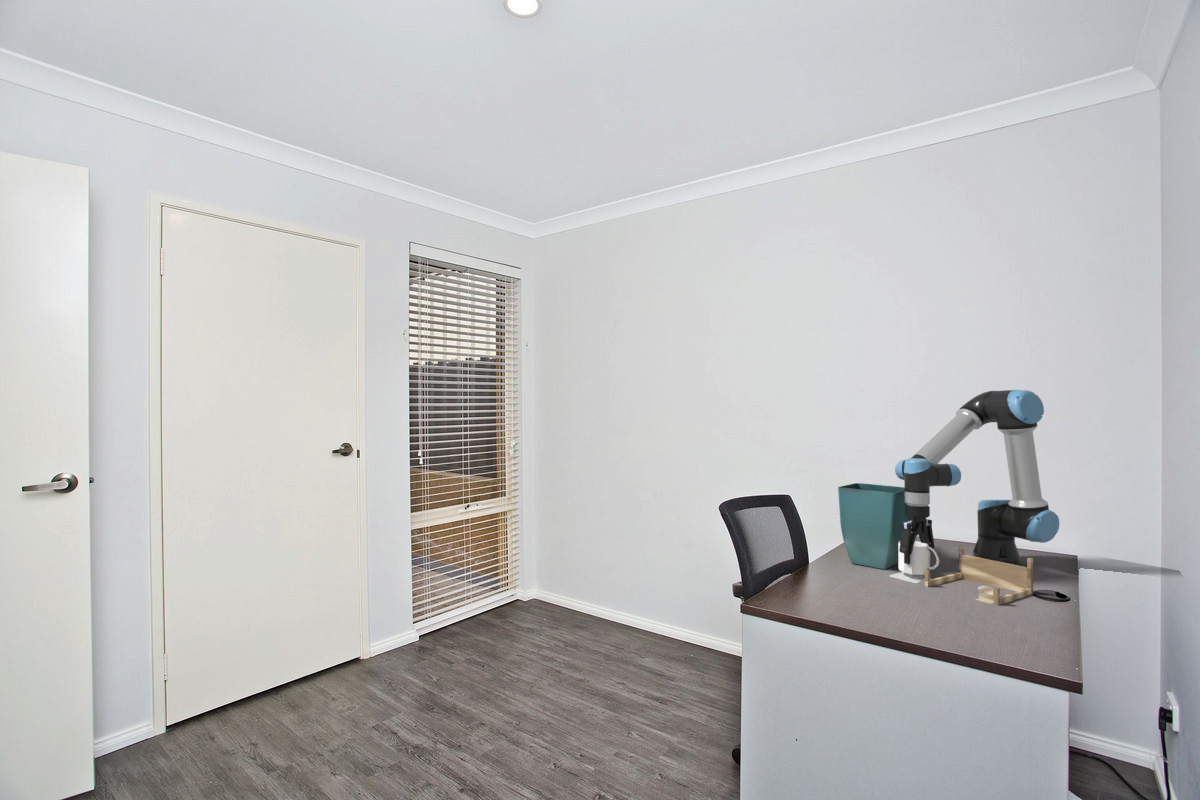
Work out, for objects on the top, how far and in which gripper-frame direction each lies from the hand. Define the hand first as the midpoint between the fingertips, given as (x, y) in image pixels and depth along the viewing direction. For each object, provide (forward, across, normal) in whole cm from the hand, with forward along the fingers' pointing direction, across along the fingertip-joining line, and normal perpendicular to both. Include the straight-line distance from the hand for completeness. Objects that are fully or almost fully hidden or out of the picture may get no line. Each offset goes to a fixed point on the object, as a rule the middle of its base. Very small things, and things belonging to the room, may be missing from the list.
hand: (917, 571), depth 199 cm
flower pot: (+3, -5, -19) cm, 20 cm away
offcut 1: (-1, +9, +26) cm, 28 cm away
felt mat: (+2, 0, 0) cm, 2 cm away
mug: (0, 0, 0) cm, 1 cm away
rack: (+2, +1, +20) cm, 20 cm away
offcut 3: (+3, +9, +26) cm, 28 cm away
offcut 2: (+1, +9, +26) cm, 28 cm away
